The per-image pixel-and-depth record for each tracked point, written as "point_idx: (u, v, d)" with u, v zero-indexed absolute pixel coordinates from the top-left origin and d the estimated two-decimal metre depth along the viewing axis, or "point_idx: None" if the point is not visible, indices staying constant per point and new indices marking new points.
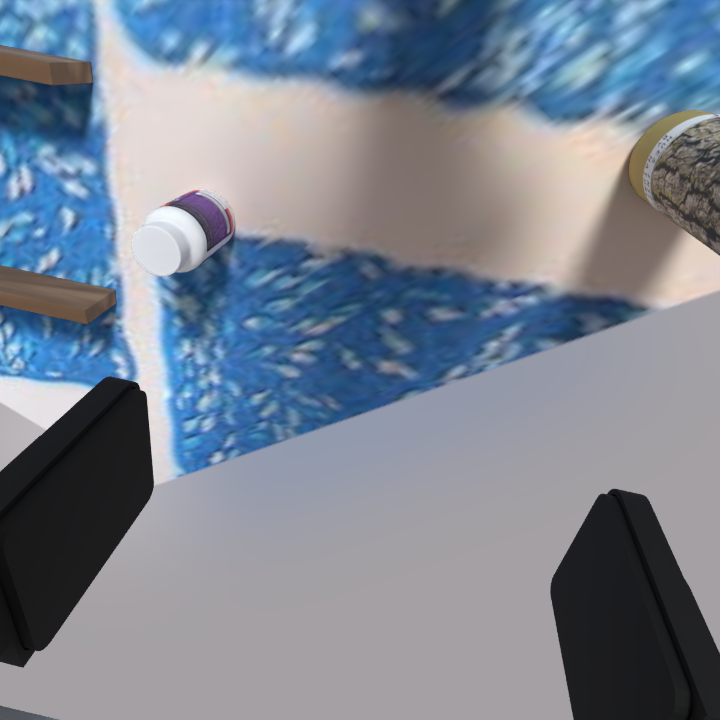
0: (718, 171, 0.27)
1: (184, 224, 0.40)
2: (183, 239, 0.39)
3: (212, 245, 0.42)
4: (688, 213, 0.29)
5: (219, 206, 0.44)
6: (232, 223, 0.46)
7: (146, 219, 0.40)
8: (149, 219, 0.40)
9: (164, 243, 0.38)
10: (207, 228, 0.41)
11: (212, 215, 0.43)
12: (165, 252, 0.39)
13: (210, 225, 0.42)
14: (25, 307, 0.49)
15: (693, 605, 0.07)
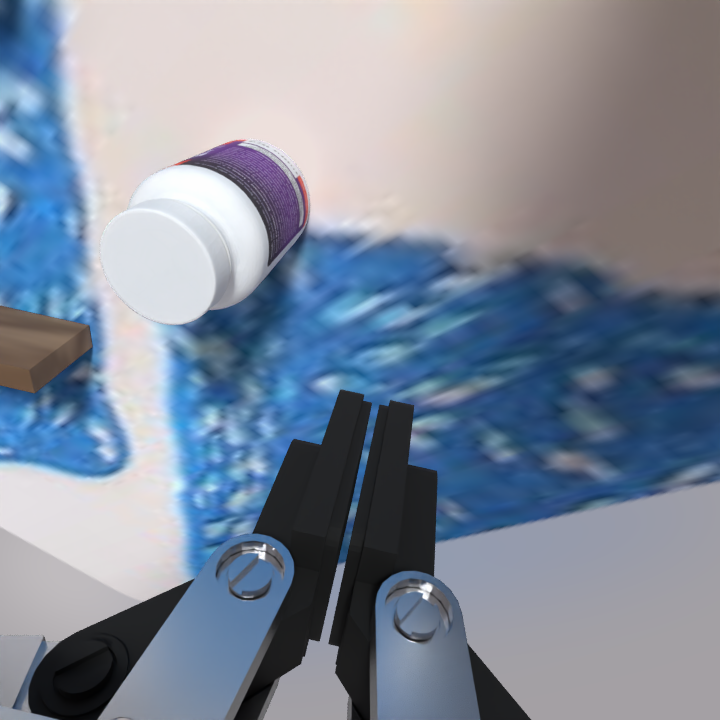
0: None
1: (223, 206, 0.17)
2: (221, 241, 0.17)
3: (276, 251, 0.20)
4: None
5: (286, 170, 0.22)
6: (307, 207, 0.23)
7: (135, 196, 0.18)
8: (141, 195, 0.17)
9: (176, 252, 0.16)
10: (270, 215, 0.19)
11: (276, 187, 0.20)
12: (179, 271, 0.16)
13: (274, 210, 0.19)
14: None
15: (402, 478, 0.09)
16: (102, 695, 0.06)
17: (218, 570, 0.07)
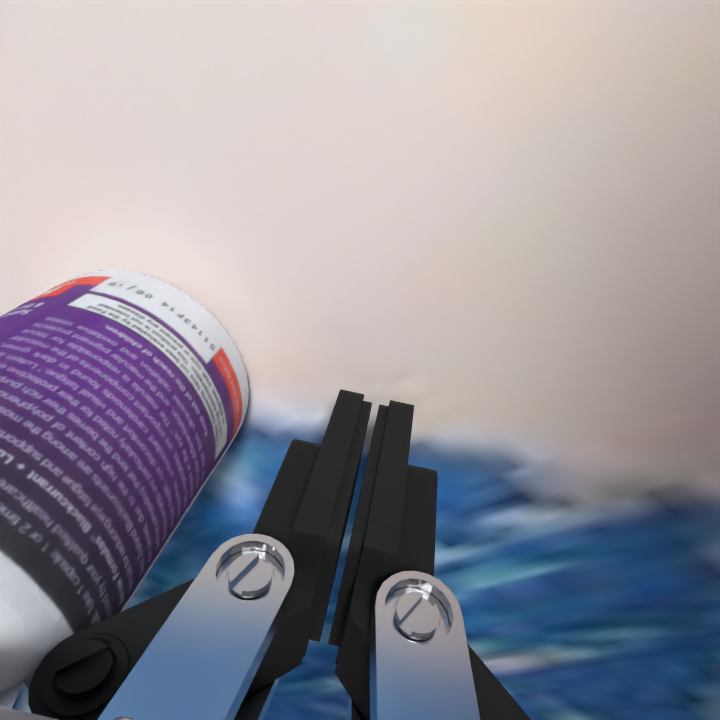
0: None
1: None
2: None
3: (126, 594, 0.08)
4: None
5: (183, 355, 0.10)
6: (239, 404, 0.12)
7: None
8: None
9: None
10: (88, 543, 0.07)
11: (134, 431, 0.08)
12: None
13: (111, 511, 0.08)
14: None
15: (402, 478, 0.09)
16: (102, 695, 0.06)
17: (218, 570, 0.07)
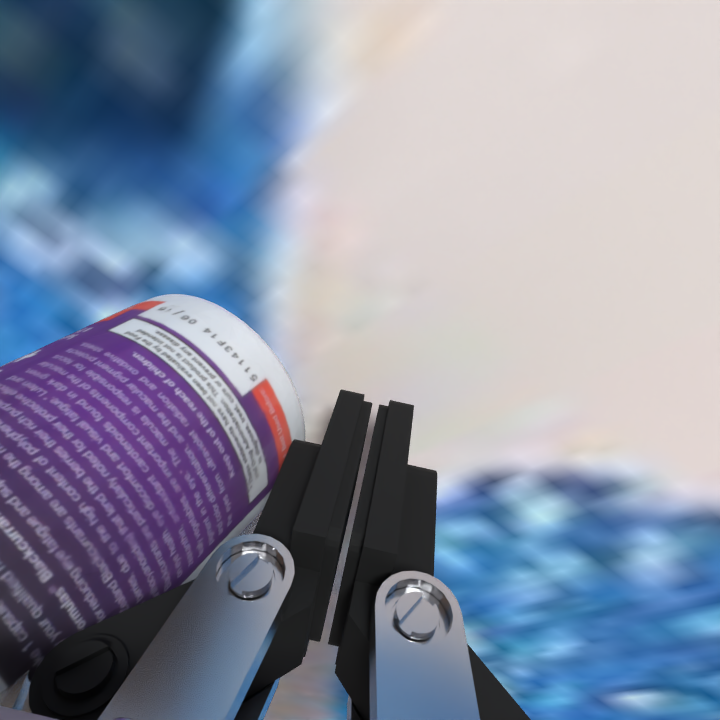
0: None
1: None
2: None
3: None
4: None
5: (212, 387, 0.09)
6: (287, 441, 0.10)
7: None
8: None
9: None
10: (45, 595, 0.06)
11: (129, 470, 0.08)
12: None
13: (83, 559, 0.07)
14: None
15: (402, 478, 0.09)
16: (103, 695, 0.06)
17: (218, 570, 0.07)
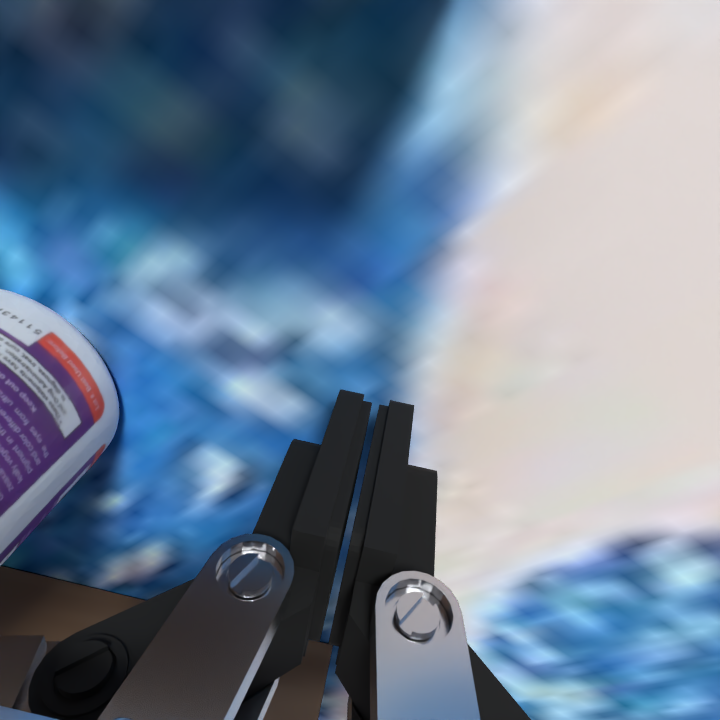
0: None
1: None
2: None
3: None
4: None
5: None
6: (90, 383, 0.12)
7: None
8: None
9: None
10: None
11: None
12: None
13: None
14: None
15: (402, 478, 0.09)
16: (102, 695, 0.06)
17: (218, 570, 0.07)
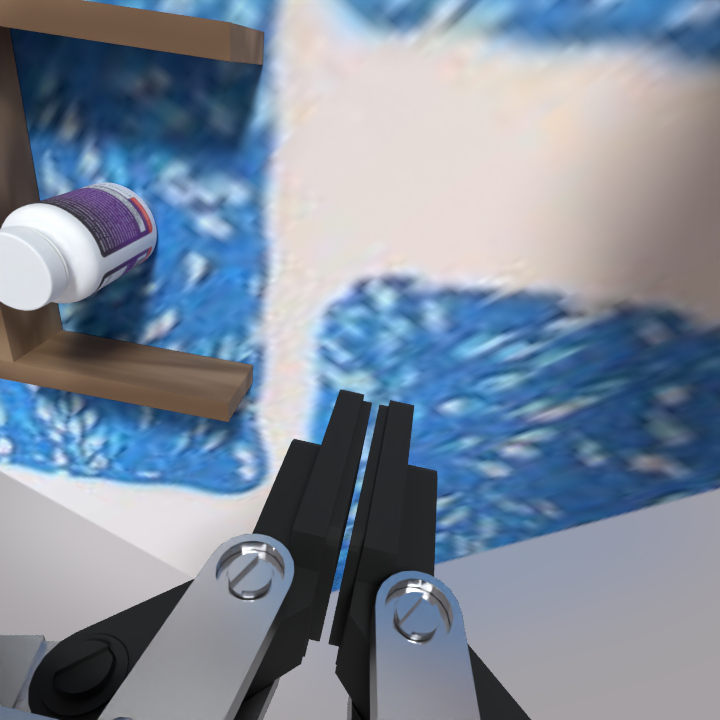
0: None
1: (49, 221, 0.25)
2: (48, 242, 0.25)
3: (111, 246, 0.28)
4: None
5: (117, 195, 0.30)
6: (147, 217, 0.32)
7: None
8: None
9: (16, 255, 0.24)
10: (93, 222, 0.27)
11: (102, 206, 0.28)
12: (23, 268, 0.24)
13: (99, 219, 0.28)
14: (136, 400, 0.33)
15: (402, 478, 0.09)
16: (102, 695, 0.06)
17: (218, 570, 0.07)
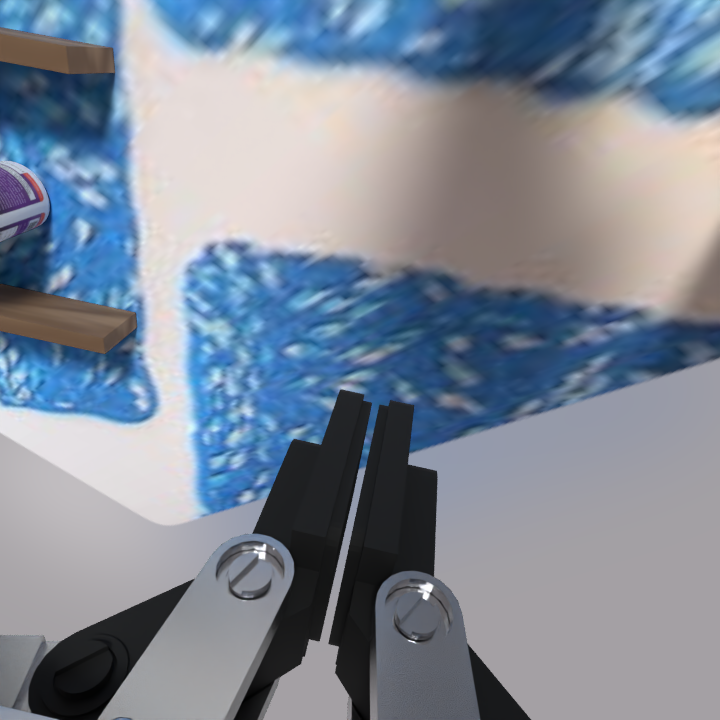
0: None
1: None
2: None
3: None
4: None
5: (10, 170, 0.39)
6: (38, 189, 0.40)
7: None
8: None
9: None
10: None
11: None
12: None
13: None
14: (33, 334, 0.42)
15: (402, 478, 0.09)
16: (102, 695, 0.06)
17: (218, 570, 0.07)
